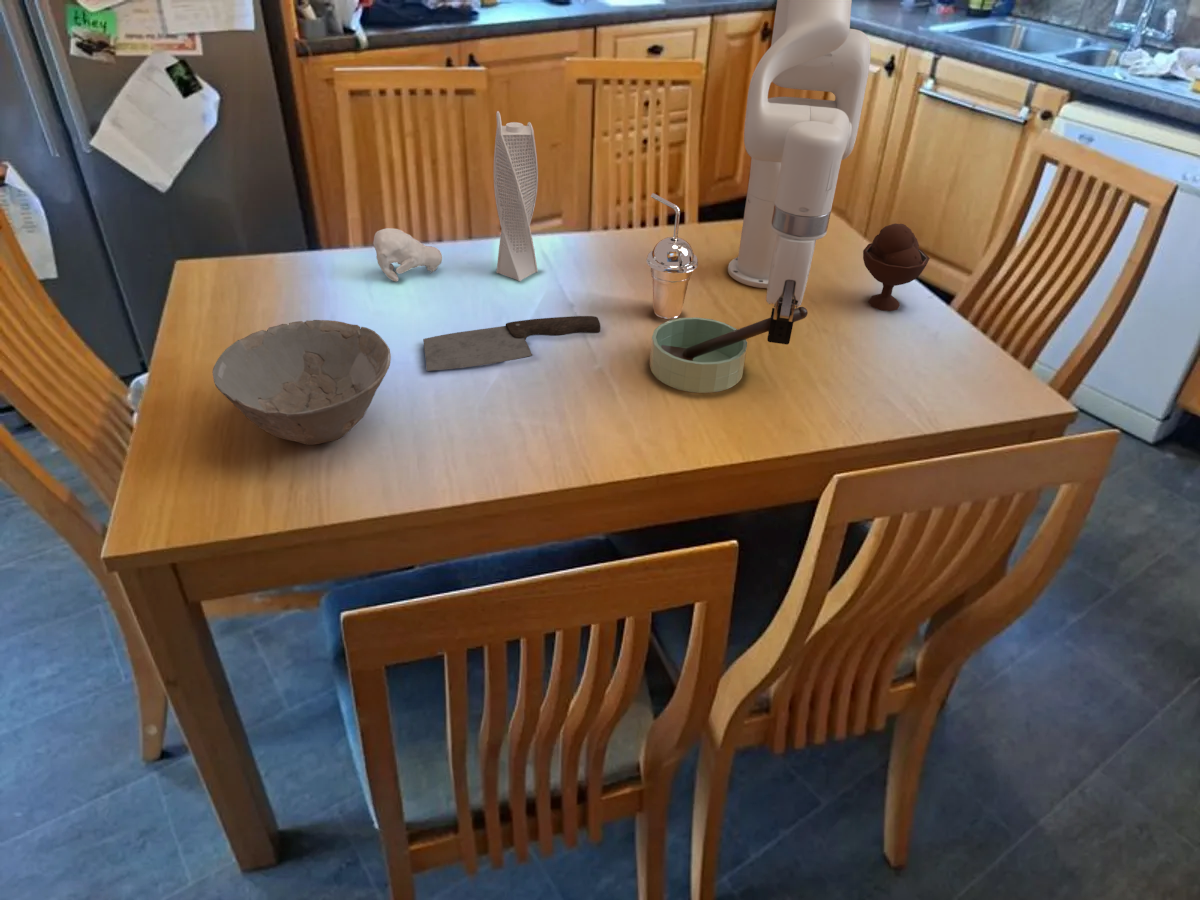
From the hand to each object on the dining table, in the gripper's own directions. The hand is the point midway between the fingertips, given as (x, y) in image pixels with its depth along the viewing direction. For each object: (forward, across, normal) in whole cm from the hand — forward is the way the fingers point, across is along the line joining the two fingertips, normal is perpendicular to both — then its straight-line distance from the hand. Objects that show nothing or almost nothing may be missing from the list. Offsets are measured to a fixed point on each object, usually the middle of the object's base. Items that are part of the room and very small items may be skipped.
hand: (778, 337), depth 131 cm
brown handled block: (+6, 0, -7) cm, 9 cm away
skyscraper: (+8, -26, -48) cm, 55 cm away
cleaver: (+8, 0, -40) cm, 41 cm away
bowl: (+7, 0, -12) cm, 14 cm away
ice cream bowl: (+8, -32, +18) cm, 37 cm away
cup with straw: (+8, -16, -18) cm, 26 cm away
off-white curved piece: (+8, -20, -66) cm, 69 cm away
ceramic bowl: (+7, +28, -60) cm, 67 cm away
